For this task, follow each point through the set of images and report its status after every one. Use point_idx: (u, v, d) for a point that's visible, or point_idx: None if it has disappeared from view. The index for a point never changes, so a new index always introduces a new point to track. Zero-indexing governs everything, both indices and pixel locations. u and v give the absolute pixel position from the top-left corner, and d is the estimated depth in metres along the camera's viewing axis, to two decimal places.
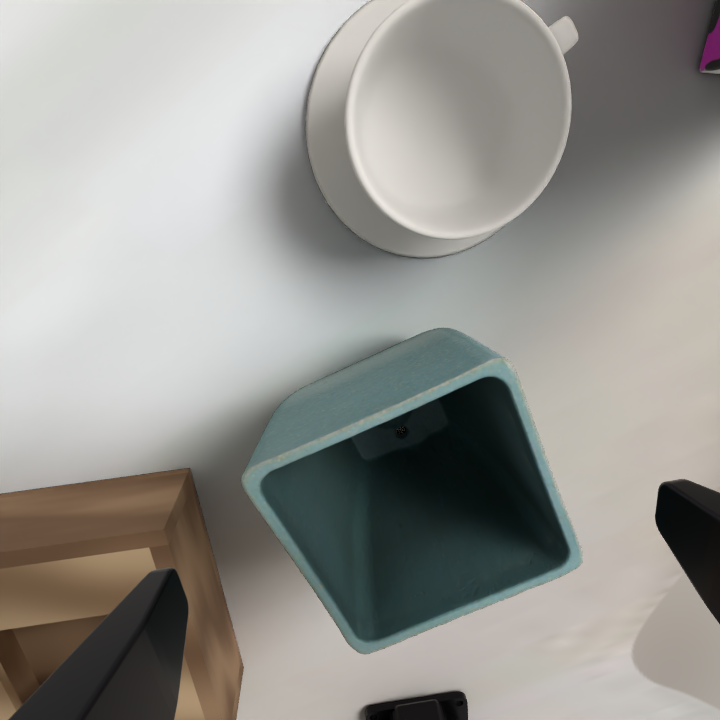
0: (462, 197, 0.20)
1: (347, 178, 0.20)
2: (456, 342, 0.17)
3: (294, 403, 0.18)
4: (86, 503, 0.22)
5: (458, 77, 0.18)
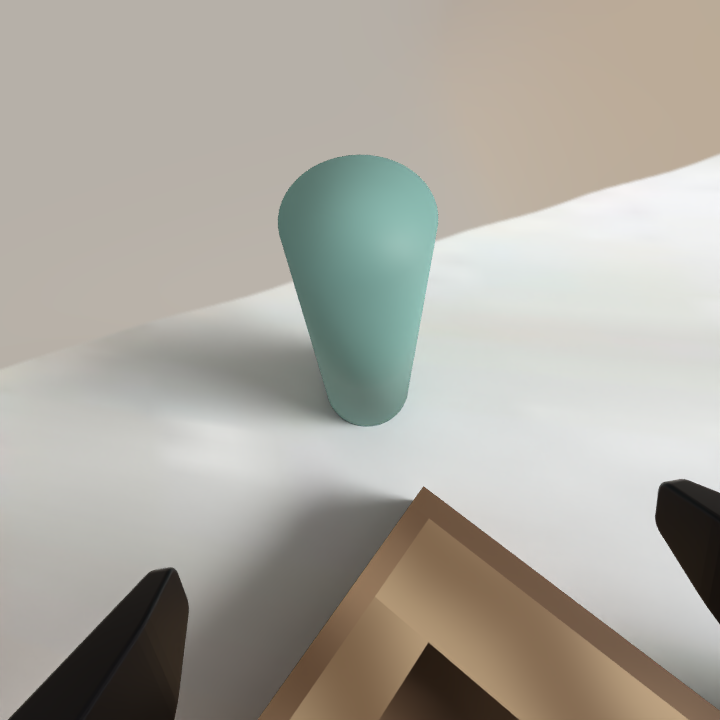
0: None
1: None
2: None
3: None
4: None
5: None
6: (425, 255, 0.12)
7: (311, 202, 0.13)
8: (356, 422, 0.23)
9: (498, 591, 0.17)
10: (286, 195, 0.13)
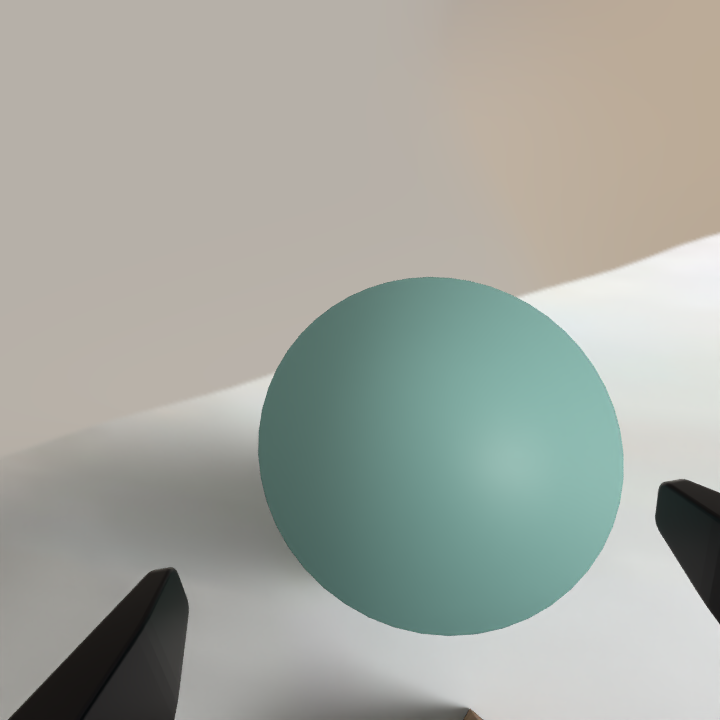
0: None
1: None
2: None
3: None
4: None
5: None
6: (603, 540, 0.05)
7: (332, 392, 0.06)
8: None
9: None
10: (278, 374, 0.06)
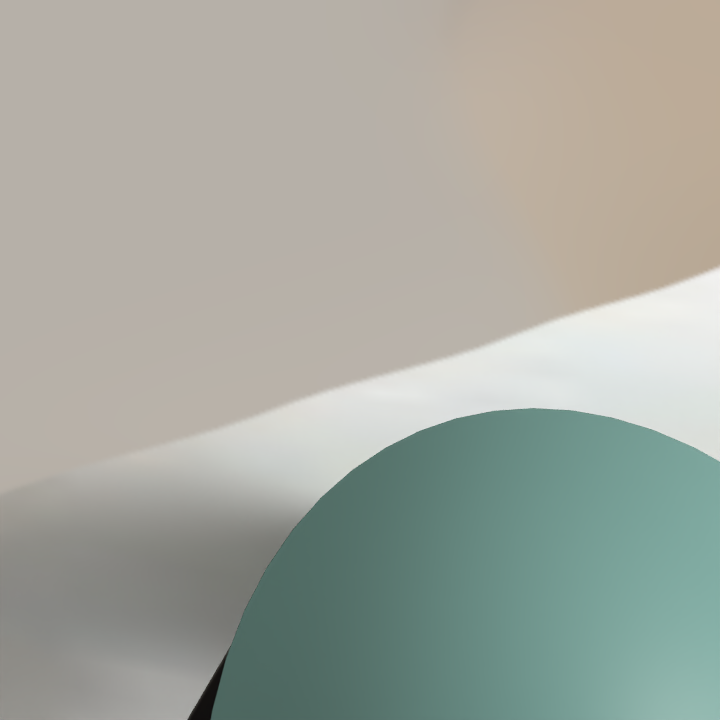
0: None
1: None
2: None
3: None
4: None
5: None
6: None
7: (356, 671, 0.03)
8: None
9: None
10: (246, 627, 0.03)
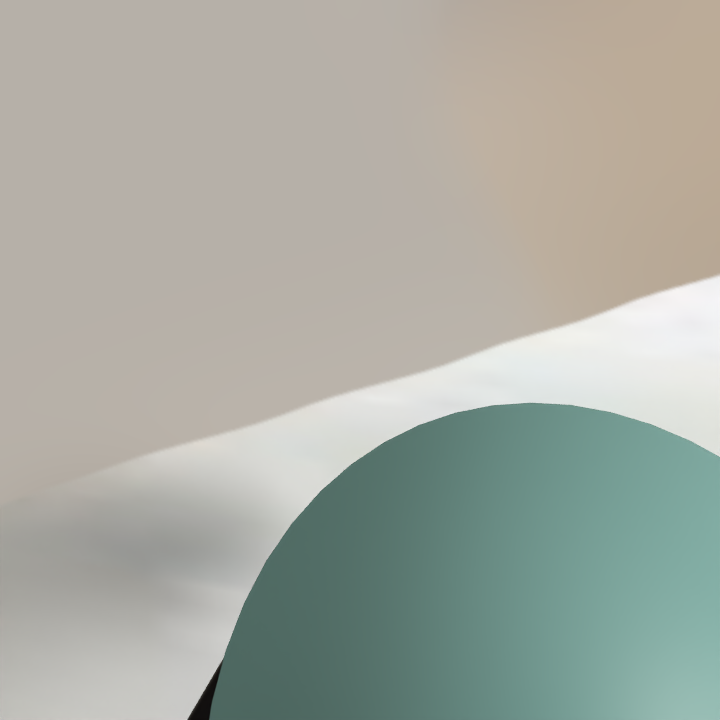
0: None
1: None
2: None
3: None
4: None
5: None
6: None
7: (354, 665, 0.03)
8: None
9: None
10: (246, 619, 0.03)
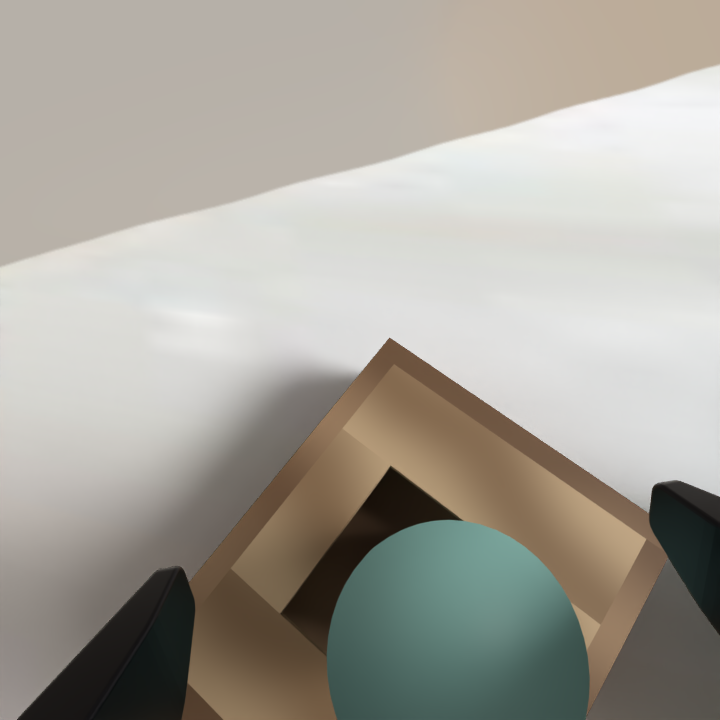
0: None
1: None
2: None
3: None
4: None
5: None
6: None
7: (379, 623, 0.08)
8: None
9: (456, 423, 0.18)
10: (338, 606, 0.08)
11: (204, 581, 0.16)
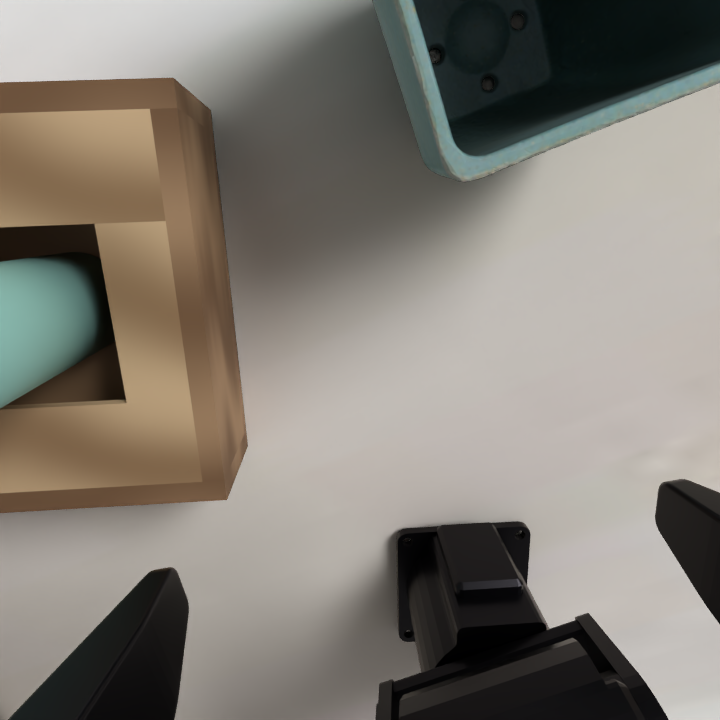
0: None
1: None
2: None
3: None
4: None
5: None
6: None
7: None
8: None
9: None
10: None
11: None
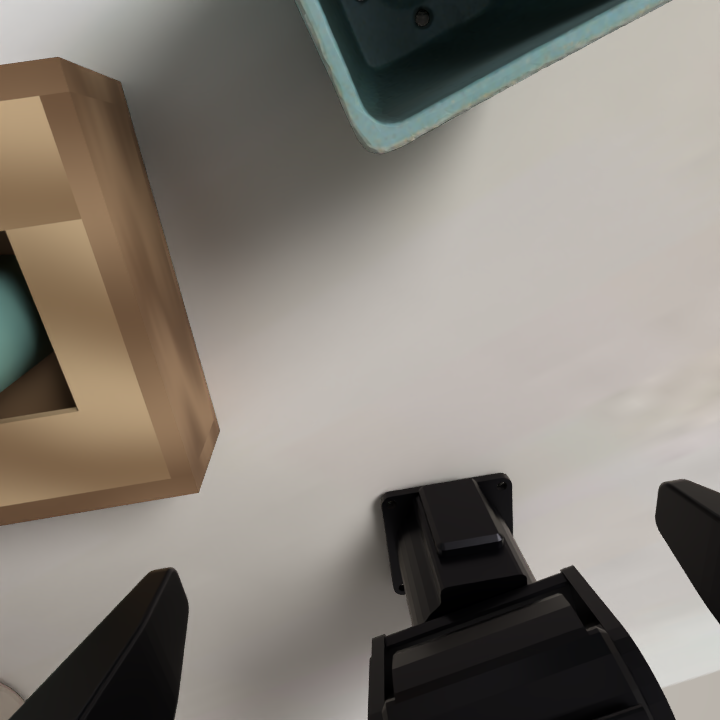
0: None
1: None
2: None
3: None
4: None
5: None
6: None
7: None
8: None
9: None
10: None
11: None
